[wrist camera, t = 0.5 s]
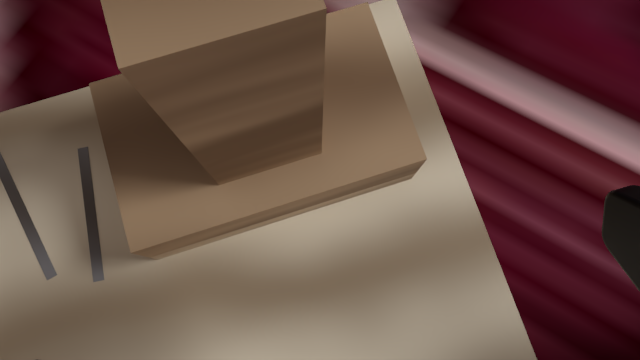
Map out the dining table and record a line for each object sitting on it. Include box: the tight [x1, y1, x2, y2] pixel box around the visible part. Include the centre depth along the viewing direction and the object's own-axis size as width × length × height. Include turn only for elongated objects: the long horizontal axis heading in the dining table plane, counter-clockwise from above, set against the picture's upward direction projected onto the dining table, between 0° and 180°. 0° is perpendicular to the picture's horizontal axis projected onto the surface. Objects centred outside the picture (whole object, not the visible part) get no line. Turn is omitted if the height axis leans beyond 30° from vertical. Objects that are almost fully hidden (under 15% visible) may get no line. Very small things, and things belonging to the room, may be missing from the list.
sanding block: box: [89, 0, 427, 260], centre depth 15 cm, size 6×10×12 cm, turn 108°
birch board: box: [0, 0, 537, 360], centre depth 20 cm, size 19×26×2 cm
